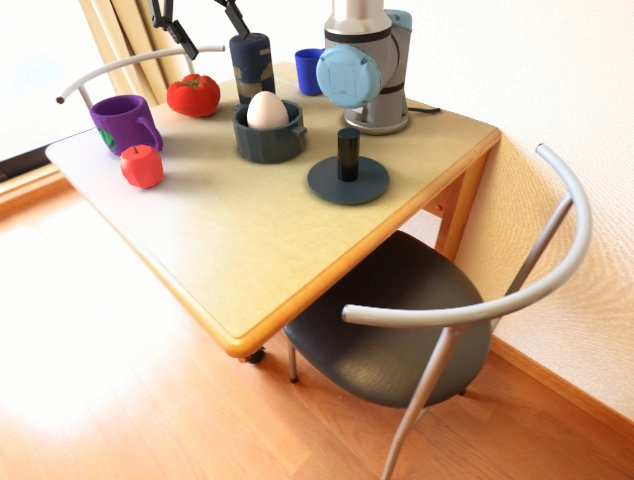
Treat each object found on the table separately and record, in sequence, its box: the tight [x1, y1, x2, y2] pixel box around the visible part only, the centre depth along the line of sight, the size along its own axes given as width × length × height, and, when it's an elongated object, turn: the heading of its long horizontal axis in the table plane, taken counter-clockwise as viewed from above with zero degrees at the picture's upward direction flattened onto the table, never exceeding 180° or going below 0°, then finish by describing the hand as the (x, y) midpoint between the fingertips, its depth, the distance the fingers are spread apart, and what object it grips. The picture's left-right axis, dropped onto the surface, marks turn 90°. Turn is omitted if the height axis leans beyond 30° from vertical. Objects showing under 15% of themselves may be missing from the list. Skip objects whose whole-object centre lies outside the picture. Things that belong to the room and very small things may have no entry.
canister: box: [228, 32, 277, 105], centre depth 89 cm, size 10×10×18 cm
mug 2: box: [294, 47, 325, 96], centre depth 100 cm, size 8×12×10 cm
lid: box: [306, 127, 390, 205], centre depth 67 cm, size 16×16×10 cm
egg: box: [247, 91, 289, 129], centre depth 77 cm, size 9×9×12 cm
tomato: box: [166, 73, 221, 119], centre depth 92 cm, size 14×13×9 cm
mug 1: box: [89, 94, 164, 157], centre depth 79 cm, size 17×11×10 cm, turn 55°
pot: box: [231, 98, 308, 165], centre depth 79 cm, size 15×20×8 cm
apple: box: [119, 145, 165, 189], centre depth 71 cm, size 8×8×8 cm
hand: (222, 46), depth 74 cm, fingers open, 13 cm apart
